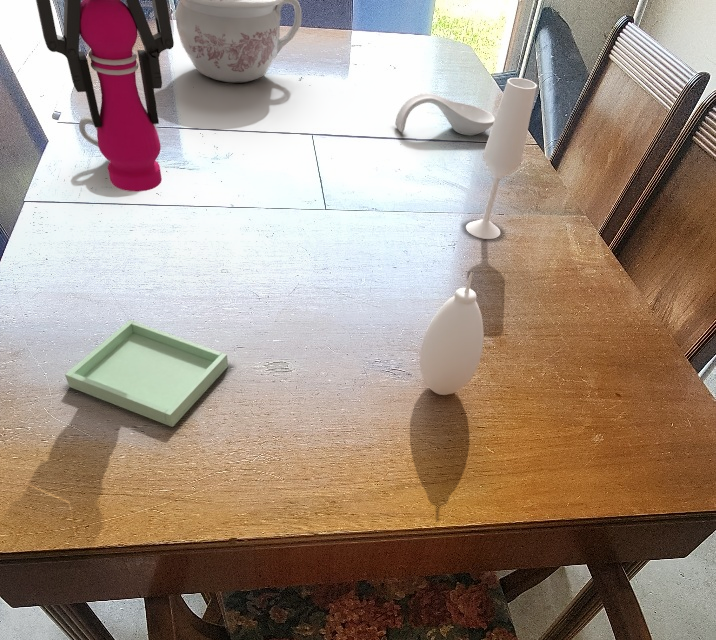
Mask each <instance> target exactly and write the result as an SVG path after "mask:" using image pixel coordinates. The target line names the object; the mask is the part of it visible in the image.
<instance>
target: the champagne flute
mask: <svg viewBox="0 0 716 640" xmlns="http://www.w3.org/2000/svg"><path fill="white" fill-rule="evenodd" d="M537 87H538V85H537V83H535V82H534V81H532V80H530V79H527V78H522V77H511V78H507V81H506V84H505V87H504V90H503V93H502V96H501V99H500V102H499V105H498V108H497V111H496V114H495V116H494V117H495V120H494V123H493V125H492V126H491V129H490V133H489V134H488V139H487V141H486V144H485V148H484V151H483V161H484V164H485V166H486V168H487V170H488V171H489V173H490V175H491V176H493V179H492V183H491V185H490V189H489V194H488V197H487V202H486V206H485V210H484V213H483V217H482V218H481V219H477V220H474V221H470V222H468V223H467V224H466V226H465V230H466V231H467V232H468V233H469V234H470V235H472V236H474V237H475V238H479V239H484V240H493V239H496V238H499V237H500V236H501V230H500V229H499V227H498V226H497V225H495V224H494V223H493V222H492V221H490V218H491V214H492V211H493V207H494V203H495V199H496V196H497V192H498V189H499V185H500V181H501V178H504V177H506V176H508V175H509V174H511V173H512V172H515V170H516V169H518V167H519V166H520V165H521V163H522V161H523V155H524V151H525V147H526V141H527V136H528V132H529V128H530V127H529V126H530V121H531V116H532V111H533V106H534V101H535V96H536V92H537Z"/></svg>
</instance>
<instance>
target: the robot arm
mask: <svg viewBox="0 0 716 640" xmlns="http://www.w3.org/2000/svg"><path fill="white" fill-rule="evenodd" d="M63 1H64V2H63V3H64V4H63V9H64V10H63V36H62V35H59V34H57V29H56V25H55V19H54V14H53V10H52V4H51V0H35V2H36V8H37V12H38V13H37V14H38V17H39V22H40V26H41V31H42V36H43V39H44V42H45V45H46V48H47V49H48V51H50V52H52V53H59V54H62V55H63V56H64V57H65V58H66V60H67V64H68V68H69V72H70V77H71V81H72V84H73V87H74V88H75V91H76V92H77V93H85V95H86V100H87V105H88V108H89V114H90V117H91V118H92V121H93V123H94V126H95V127H102V125H101V120H100V116H99V111H100V110H99V106H98V102H97V98H96V94H95V89H94V85H93V79H92V76H91V75H92V74H91V70H90V65H89V62H88V58H87V56H86V54H85V51H81V50H80V9H81V2H82V0H63ZM124 3H125V4H126V5H127V7H128V8H129V9H130V12H131V14H132V16H133V18H134V21H135V23H136V26H137V34H138V35H139V38H140V41H141V43H142V45H143V48H144V49H137V58H138V63H139V64H138V65H139V69H140V70H139V71H140V77H141V82H142V88H143V94H144V101H145V107H146V109H147V113H148V115H149V117H150V119H151V122H152V124H156V125H159V124H160V122H159V116H158V108H157V103H156V101H157V100H156V94H155V90H157V89H158V90H159V89H162V88H163V87H162V86H163V80H162V79H163V78H162V71H161V64H160V54H161V53H162V52H164V51H165V50H172V49H173V48H174V45H175V42H174V41H175V40H174V36H173V29H172V24H171V23H172V22H171V18H170V12H169V5H168V0H151V5H152V10H153V15H154V21H155V27H156V33H155V34H153V33H152V30H151V27H150V25H149V23H148V20H147V17H146V15H145V13H144V9H143V8H142V5H141V2H140V0H124ZM94 126H93V127H94ZM95 127H94V128H95Z"/></svg>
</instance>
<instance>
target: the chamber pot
mask: <svg viewBox="0 0 716 640" xmlns="http://www.w3.org/2000/svg"><path fill="white" fill-rule="evenodd" d="M287 4H288V5H292V6H293V11H294V19H293V24H292V25H291V27H290V29H288V31H287V33H286V34H285V35H283V36H282V37H280V36H281V19H282V11H281V10H282V7H283V6H284V5H287ZM301 7H302V6H301V5H300V2H299V0H178V2H177V6H176V9H175V23H176V29H177V33H178V36H179V40H180V44H181V47H182V48H183V50H184V52H185V53H186V55H187V57H188V58H189V60H190V62H191V64H192V65H193V66H194V67H195V69H196V70H197V71H198V72H199V73H200V74H202V75H203V76H206V77H207V78H210V79H211V80H215V81H218V82H221V83H231V84H244V83H249V82H252V81H255V80H258V79H260V78H262V77H263V76H264V75H266V73H267V72H268V71H269V70H270V67H271V66H272V64H273V62H274V60H275V59H276V57H277V55H278V54H279V52H280V51H281V50H282V49H283V48H284V46H286V45H287V44H288V43H289V42H290V41H291V40H293V39H294V37H295V36H296V34H297V32H298V31H299V29H300V28H301V25H302V17H303V16H302V8H301Z"/></svg>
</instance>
